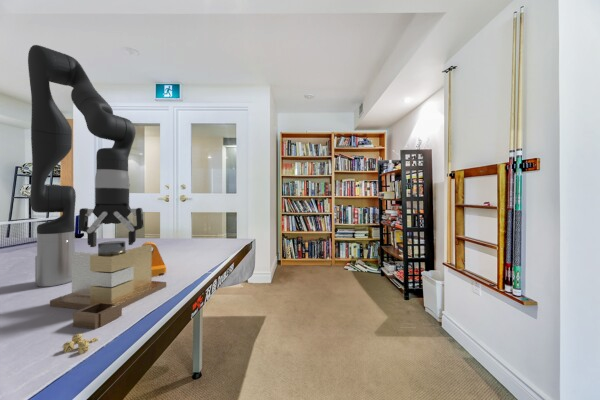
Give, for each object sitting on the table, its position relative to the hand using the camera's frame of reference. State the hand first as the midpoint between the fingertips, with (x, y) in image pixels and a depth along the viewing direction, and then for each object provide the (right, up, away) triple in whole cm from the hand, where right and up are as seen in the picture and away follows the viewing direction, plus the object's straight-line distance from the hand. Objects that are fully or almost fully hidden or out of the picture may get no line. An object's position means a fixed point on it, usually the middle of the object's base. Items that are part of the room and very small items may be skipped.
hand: (112, 245), depth 68 cm
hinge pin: (0, -14, 0) cm, 14 cm away
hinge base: (-2, -16, +1) cm, 16 cm away
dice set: (+9, -17, -20) cm, 28 cm away
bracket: (-5, -16, +26) cm, 31 cm away
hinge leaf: (-5, -14, +1) cm, 15 cm away
